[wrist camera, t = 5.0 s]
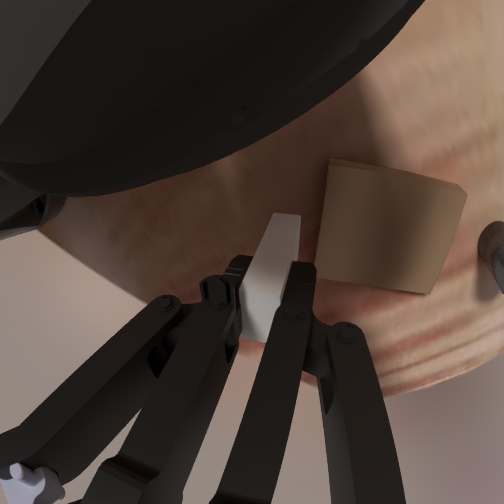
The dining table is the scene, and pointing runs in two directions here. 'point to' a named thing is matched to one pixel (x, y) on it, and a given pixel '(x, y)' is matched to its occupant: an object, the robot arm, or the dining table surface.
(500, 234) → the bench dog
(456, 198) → the board
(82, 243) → the dining table surface
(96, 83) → the coffee cup
